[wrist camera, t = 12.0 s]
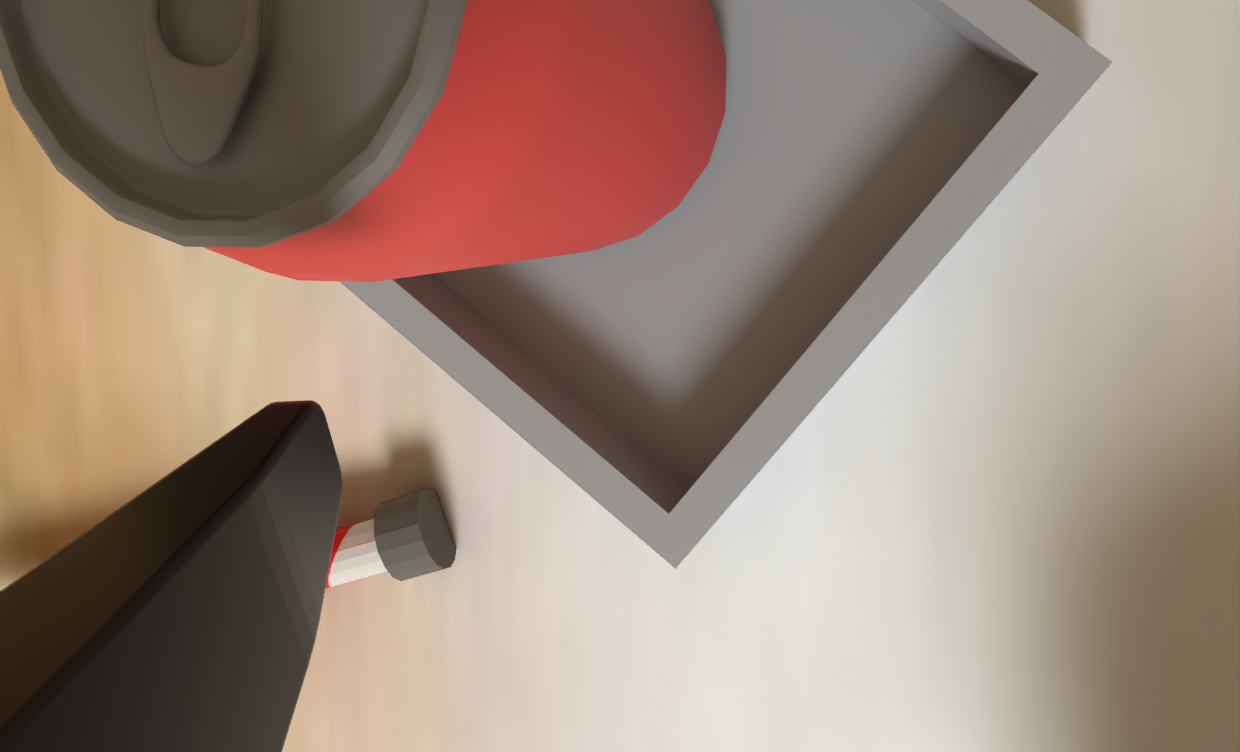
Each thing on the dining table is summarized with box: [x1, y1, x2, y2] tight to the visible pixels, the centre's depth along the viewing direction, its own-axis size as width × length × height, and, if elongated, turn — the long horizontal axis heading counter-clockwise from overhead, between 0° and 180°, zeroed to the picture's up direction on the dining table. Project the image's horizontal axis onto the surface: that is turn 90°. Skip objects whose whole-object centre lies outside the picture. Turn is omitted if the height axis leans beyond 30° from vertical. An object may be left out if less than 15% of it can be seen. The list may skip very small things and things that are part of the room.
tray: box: [340, 0, 1112, 568], centre depth 21 cm, size 16×12×2 cm
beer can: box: [0, 0, 727, 282], centre depth 16 cm, size 7×7×12 cm
